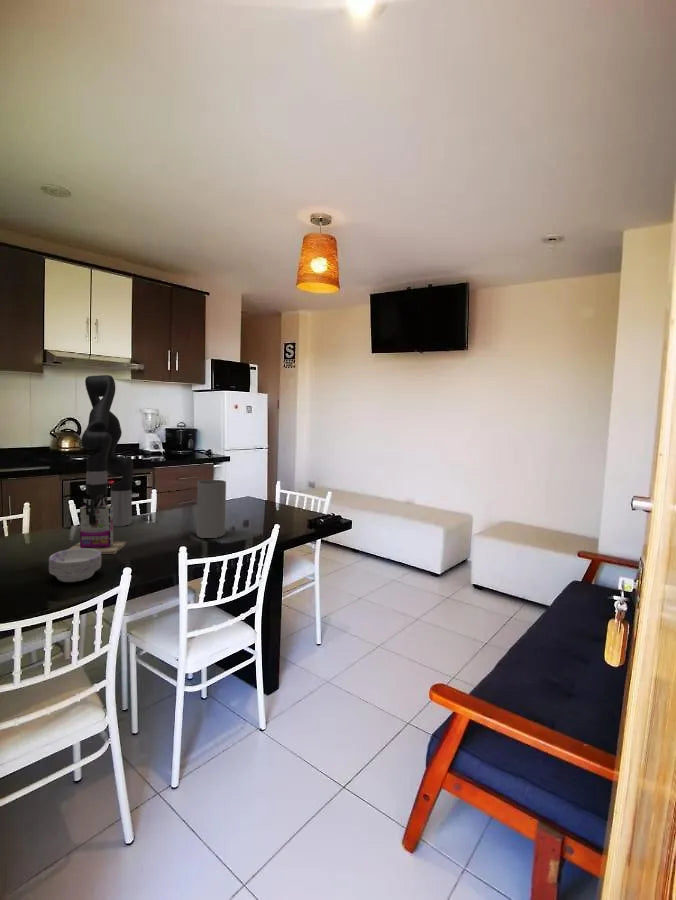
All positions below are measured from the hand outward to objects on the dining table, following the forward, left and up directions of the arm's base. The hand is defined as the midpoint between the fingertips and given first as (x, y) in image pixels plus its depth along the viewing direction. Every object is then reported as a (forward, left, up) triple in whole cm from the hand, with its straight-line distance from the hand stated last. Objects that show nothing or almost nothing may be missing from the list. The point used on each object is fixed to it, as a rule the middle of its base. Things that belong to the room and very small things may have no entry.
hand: (97, 522), depth 179 cm
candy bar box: (0, 0, -10) cm, 10 cm away
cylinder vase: (-22, +41, -11) cm, 48 cm away
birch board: (0, 0, -11) cm, 11 cm away
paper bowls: (+31, +6, -11) cm, 34 cm away
